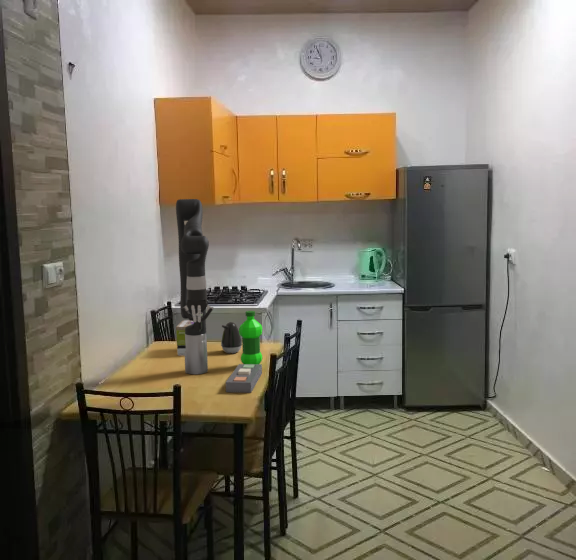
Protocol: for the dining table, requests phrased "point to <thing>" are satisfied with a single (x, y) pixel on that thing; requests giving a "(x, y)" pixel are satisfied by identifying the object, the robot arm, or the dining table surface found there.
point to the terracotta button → (240, 379)
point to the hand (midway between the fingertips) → (198, 331)
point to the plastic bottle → (251, 340)
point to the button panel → (241, 385)
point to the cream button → (244, 372)
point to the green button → (249, 366)
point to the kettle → (231, 338)
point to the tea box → (182, 337)
